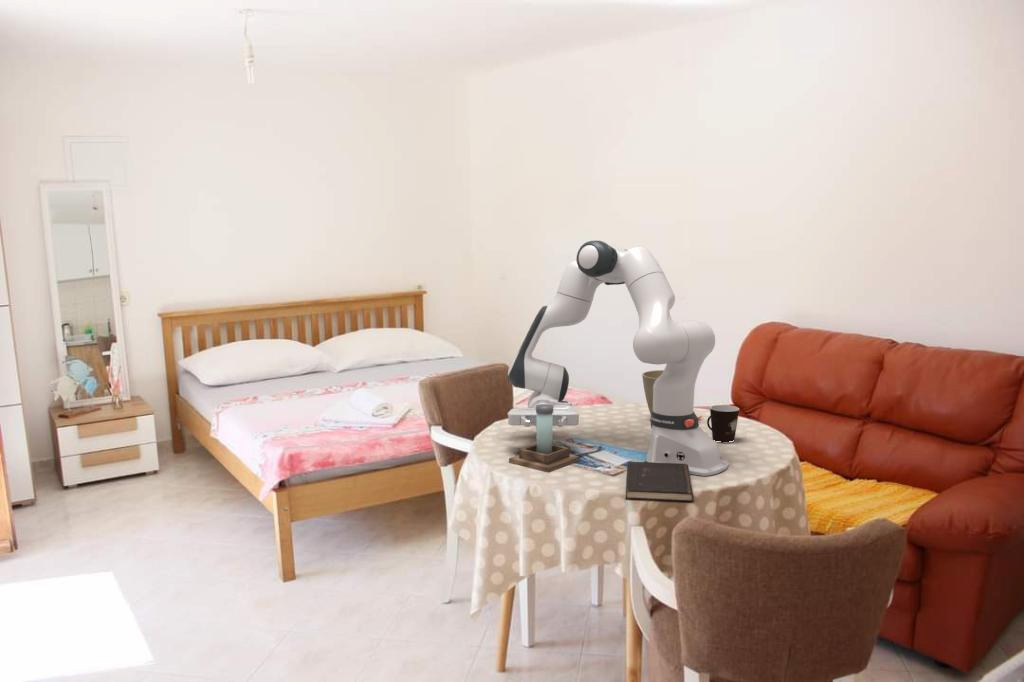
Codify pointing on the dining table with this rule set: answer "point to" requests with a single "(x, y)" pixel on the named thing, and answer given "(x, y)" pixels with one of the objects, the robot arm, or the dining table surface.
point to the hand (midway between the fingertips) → (543, 423)
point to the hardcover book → (658, 482)
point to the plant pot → (650, 385)
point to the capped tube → (544, 428)
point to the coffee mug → (723, 422)
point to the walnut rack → (544, 458)
